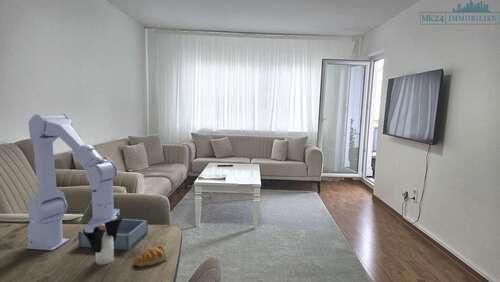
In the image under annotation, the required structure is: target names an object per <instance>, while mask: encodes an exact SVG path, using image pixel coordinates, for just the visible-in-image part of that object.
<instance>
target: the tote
mask: <svg viewBox="0 0 500 282" xmlns="http://www.w3.org/2000/svg"><path fill="white" fill-rule="evenodd" d="M84 229H85V227H84V228H83V229H81V230H79V231H78V232H77V233H78V235H77V236H78V247H82V248H92V247H91V245H90V242H89V240H88V239H87V237H86V236H85V235H84V234H83V230H84ZM148 233H149V231H148V220H147V219H135V218H134V219H132V218H131V219H129V218H122V221H121V223H120V225H119V228H118V231H117V236H116V240H115V241H113V243H114V250H121V251H131V249H132V248H134V246H135V245H136V244H138V243H139V242H140V241H141V240H142V239H143V238H144V237H145V236H147V234H148ZM103 235H107V233H104V234H103Z"/></svg>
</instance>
